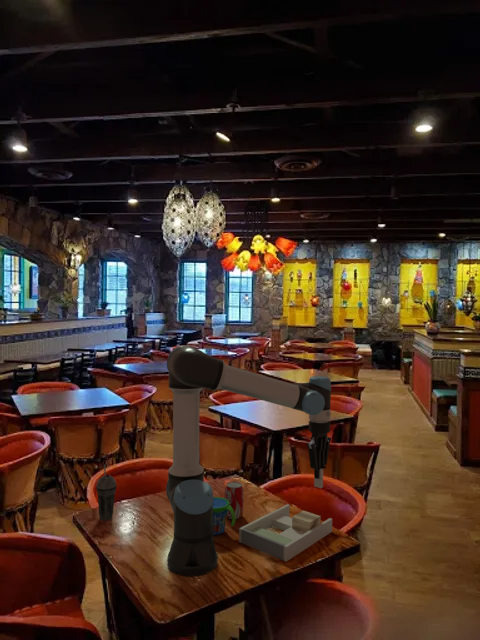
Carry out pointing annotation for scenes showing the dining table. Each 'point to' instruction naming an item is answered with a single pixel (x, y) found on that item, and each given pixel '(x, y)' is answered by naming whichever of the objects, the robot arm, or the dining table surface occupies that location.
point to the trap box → (281, 534)
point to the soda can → (234, 498)
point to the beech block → (305, 521)
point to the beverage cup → (106, 496)
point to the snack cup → (221, 515)
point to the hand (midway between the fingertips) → (318, 486)
